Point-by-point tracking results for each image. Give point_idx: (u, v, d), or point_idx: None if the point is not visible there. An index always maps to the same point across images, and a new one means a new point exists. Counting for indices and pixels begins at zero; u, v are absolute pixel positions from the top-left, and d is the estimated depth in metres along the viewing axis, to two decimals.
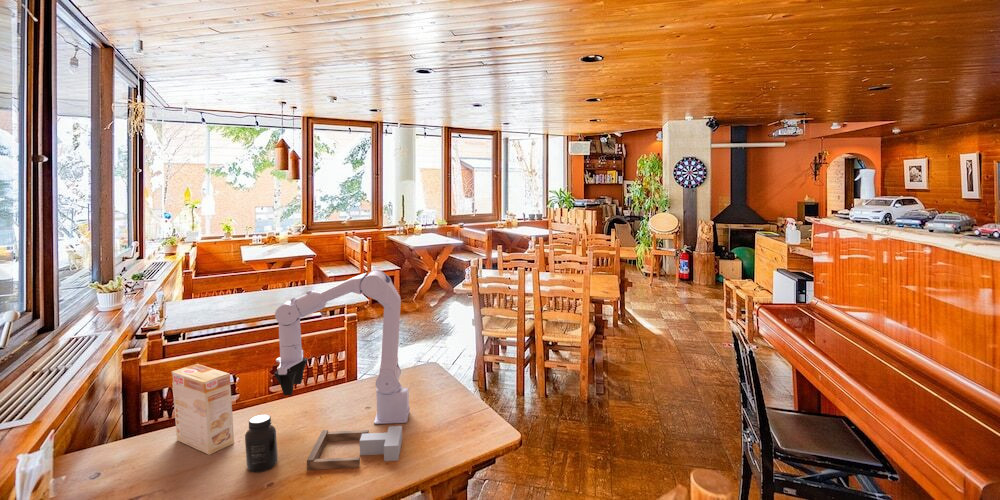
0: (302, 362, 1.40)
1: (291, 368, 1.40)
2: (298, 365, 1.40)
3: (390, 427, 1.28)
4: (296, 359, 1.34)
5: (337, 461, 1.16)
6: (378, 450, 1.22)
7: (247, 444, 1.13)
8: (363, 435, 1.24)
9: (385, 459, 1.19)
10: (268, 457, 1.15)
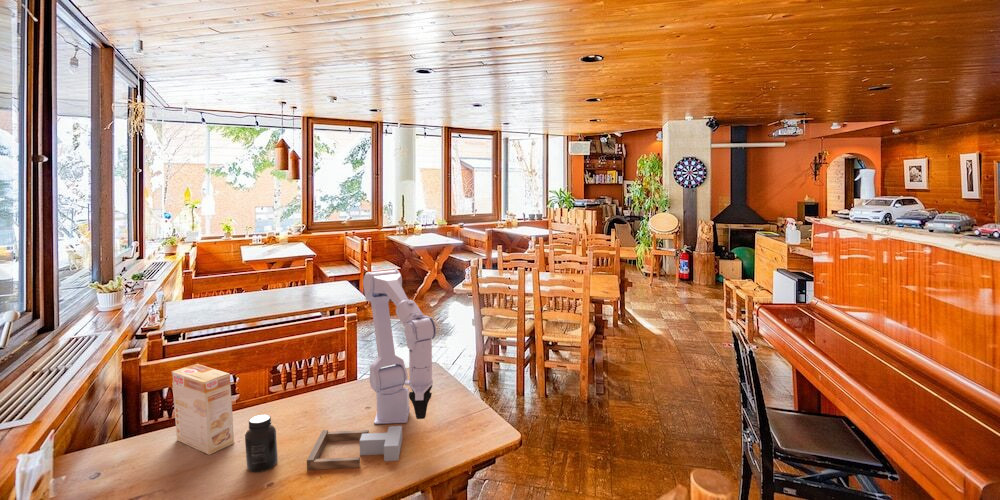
0: None
1: None
2: None
3: (390, 427, 1.28)
4: (428, 382, 1.21)
5: (337, 461, 1.16)
6: (378, 450, 1.22)
7: (247, 444, 1.13)
8: (363, 435, 1.24)
9: (385, 459, 1.19)
10: (268, 457, 1.15)
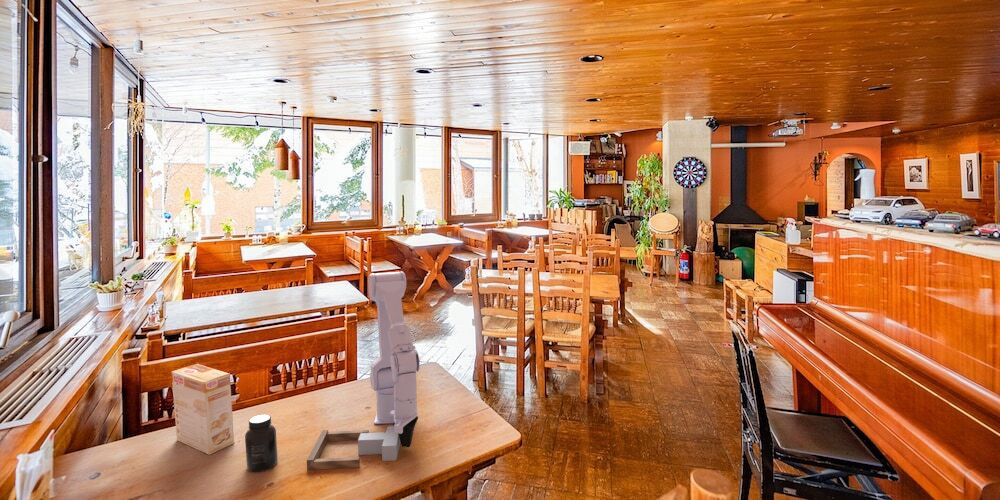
0: (412, 421, 1.24)
1: None
2: None
3: (389, 427, 1.28)
4: (411, 414, 1.21)
5: (337, 461, 1.16)
6: (376, 449, 1.22)
7: (247, 444, 1.13)
8: (362, 435, 1.24)
9: (383, 459, 1.19)
10: (268, 457, 1.15)
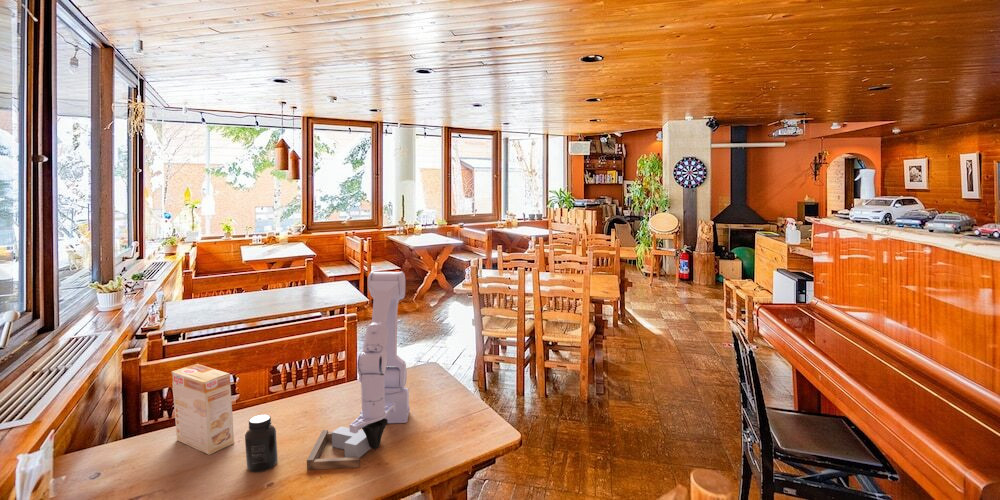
0: (379, 424, 1.22)
1: None
2: None
3: None
4: (374, 417, 1.20)
5: (337, 461, 1.16)
6: None
7: (247, 444, 1.13)
8: (339, 428, 1.27)
9: (345, 456, 1.20)
10: (268, 457, 1.15)
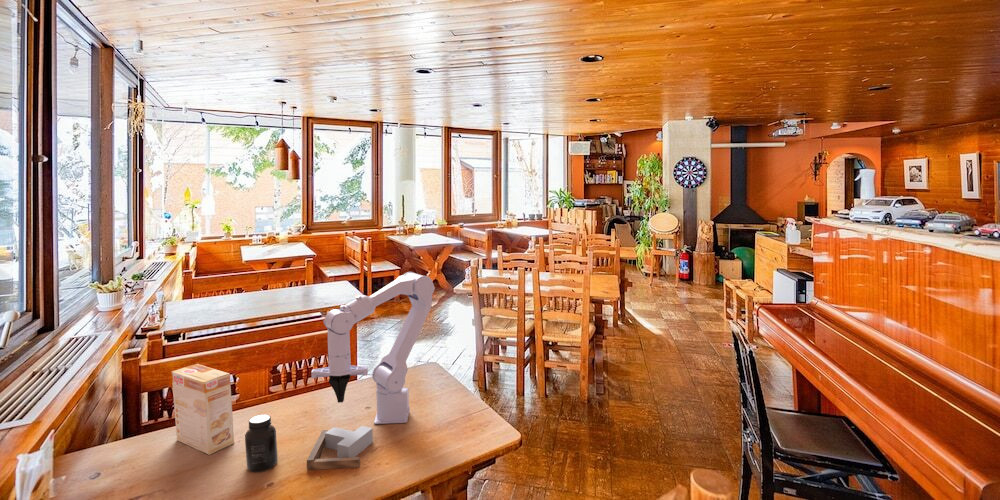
0: None
1: None
2: None
3: (361, 427, 1.28)
4: (331, 371, 1.28)
5: (337, 461, 1.16)
6: None
7: (247, 444, 1.13)
8: (333, 429, 1.27)
9: (338, 457, 1.20)
10: (268, 457, 1.15)
